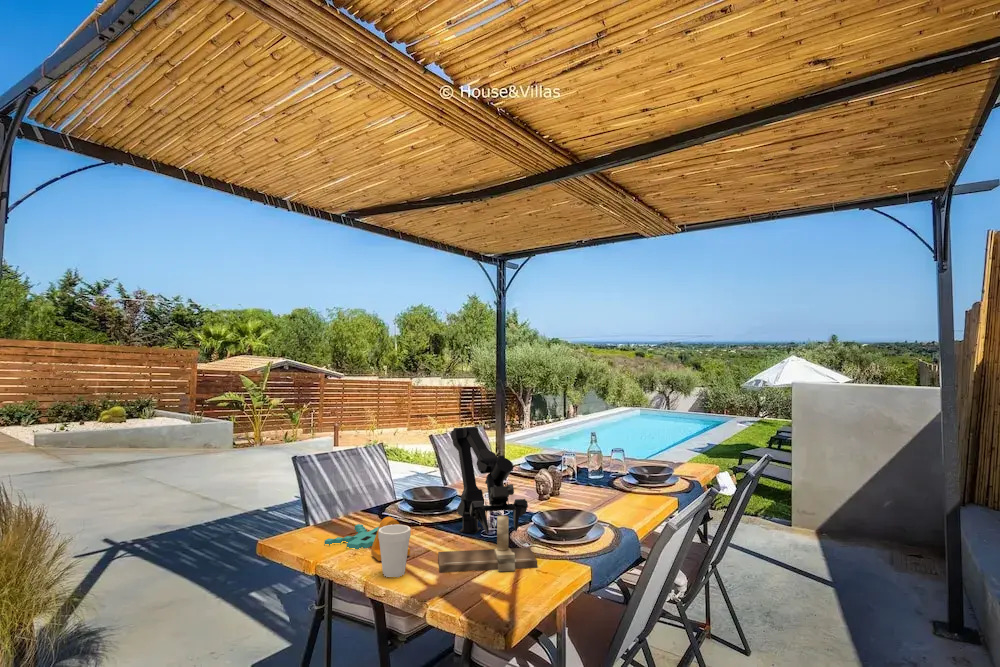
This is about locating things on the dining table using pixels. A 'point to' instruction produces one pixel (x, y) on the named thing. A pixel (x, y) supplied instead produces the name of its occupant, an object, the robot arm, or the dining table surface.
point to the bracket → (376, 545)
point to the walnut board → (482, 560)
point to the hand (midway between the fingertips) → (502, 532)
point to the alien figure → (357, 538)
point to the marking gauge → (504, 546)
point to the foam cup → (394, 549)
